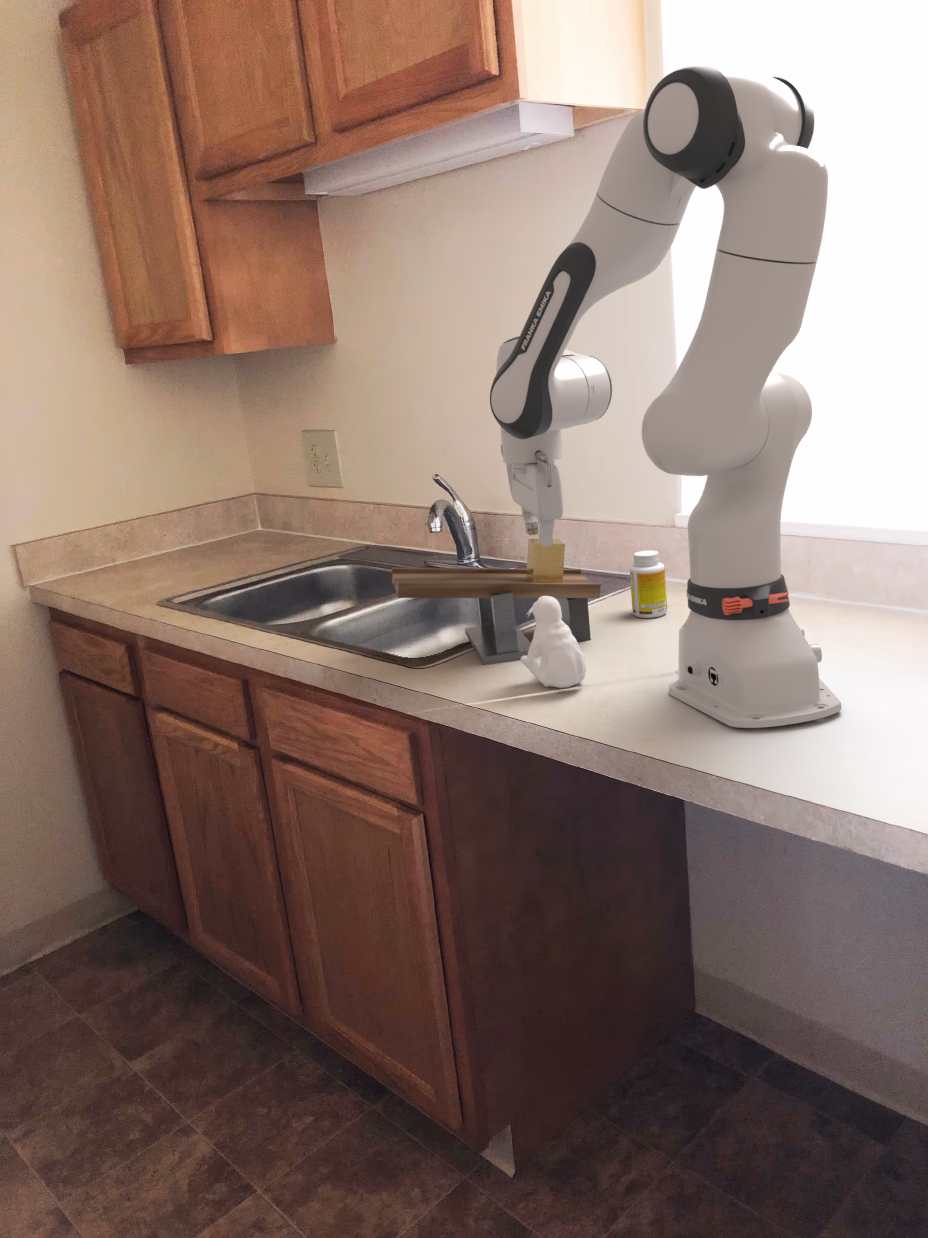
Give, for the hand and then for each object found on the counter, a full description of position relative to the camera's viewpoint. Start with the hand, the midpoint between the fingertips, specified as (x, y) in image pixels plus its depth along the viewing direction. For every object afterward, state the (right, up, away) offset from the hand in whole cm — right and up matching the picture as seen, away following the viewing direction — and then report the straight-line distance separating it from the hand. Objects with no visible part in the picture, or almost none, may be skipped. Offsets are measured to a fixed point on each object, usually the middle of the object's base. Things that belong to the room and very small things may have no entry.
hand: (539, 539), depth 152 cm
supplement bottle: (+19, -11, +11) cm, 25 cm away
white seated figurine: (+1, -21, -17) cm, 27 cm away
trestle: (-1, -15, +3) cm, 16 cm away
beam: (-7, -8, 0) cm, 10 cm away
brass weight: (+1, -6, +1) cm, 6 cm away
